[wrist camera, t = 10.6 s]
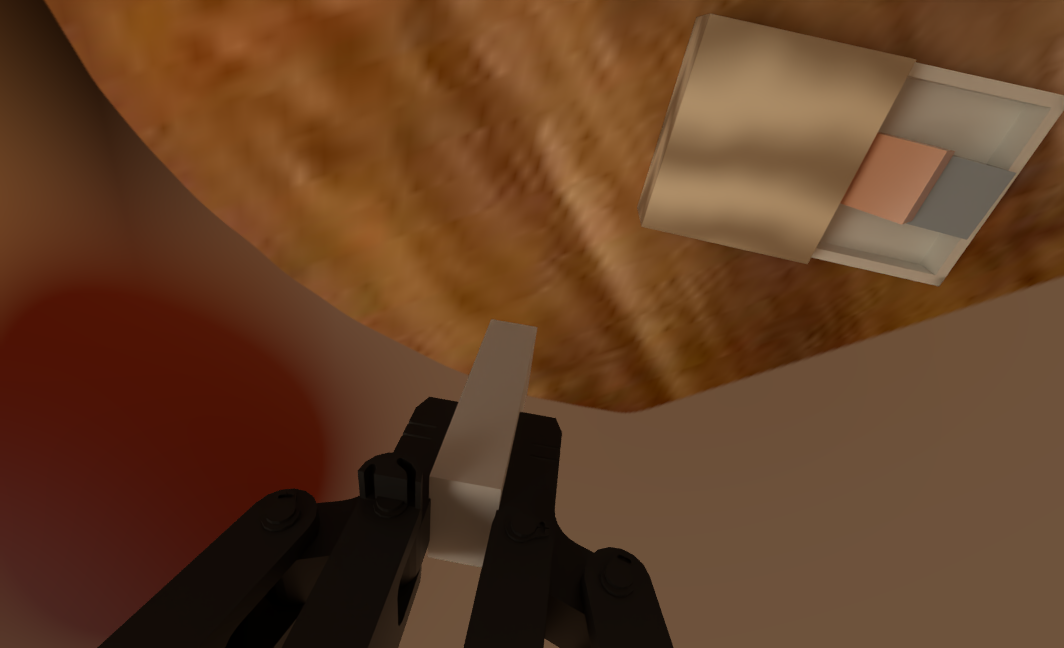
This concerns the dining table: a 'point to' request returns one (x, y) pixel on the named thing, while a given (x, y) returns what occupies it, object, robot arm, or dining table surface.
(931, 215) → the slate gray square block
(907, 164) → the salmon orange square block
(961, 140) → the tray
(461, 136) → the dining table surface
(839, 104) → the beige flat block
